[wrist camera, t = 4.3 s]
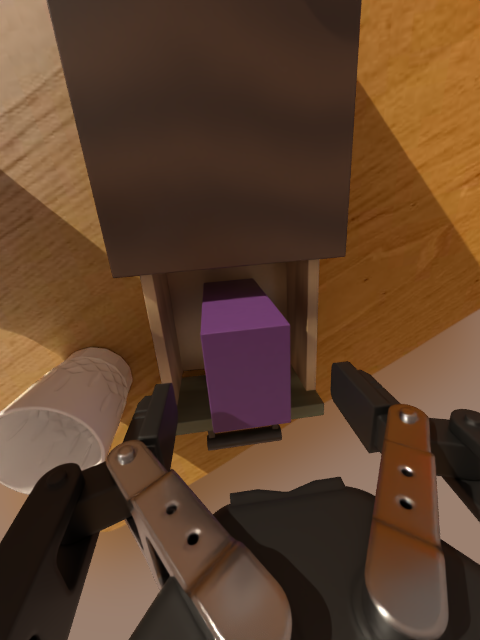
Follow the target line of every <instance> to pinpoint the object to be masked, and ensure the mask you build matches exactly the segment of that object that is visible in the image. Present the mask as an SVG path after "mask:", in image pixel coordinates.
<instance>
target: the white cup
mask: <svg viewBox="0 0 480 640" xmlns="http://www.w3.org/2000/svg"><path fill="white" fill-rule="evenodd" d="M132 381H133V379H132V375H131V370H130V367H129V366H128V364H127V363H126V362H125V361H124V360H123V358H122V357H121V356H119V355H117V354H115V353H114V352H112V351H110V350H108V349H103V348H93V347H89V348H86V349H82V350H79V351H76V352H74V353H73V354H72V355H70V356H69V357H68V358H67V359H66V360H65V361H64V362H62V363H61V364H60V365H58V366H56V367H54V368H53V369H52V370H50V371H49V372H48V373H47V374H45V375H44V376H43V377H42V378H41V379H39V380H38V381H36V382H35V383H34V384H33V385H31V386H30V387H29V388H28V389H27V390H26V391H24V392H23V393H22V394H21V395H20V396H19V397H17V398H16V399H15V400H14V401H13V402H11V403H10V404H9V405H8V406H7V407H5V408H4V409H3V410H2V411H1V412H0V483H1V484H3V485H4V486H6V487H8V488H10V489H13V490H15V491H18V492H21V493H24V494H28V495H29V494H30V493H31V491H32V489H33V488H34V486H35V484H36V483H37V481H38V480H39V479H40V478H41V477H42V476H43V475H44V474H45V473H47V472H48V471H50V470H51V469H53V468H55V467H57V466H59V465H62V464H65V463H76V464H78V465H79V466H80V468H81V471H82V470H85V469H87V468H90V467H93V466H95V465H98V464H100V463H102V462H104V461H106V458H107V455H108V453H109V450H110V447H111V444H112V442H113V439H114V436H115V434H116V431H117V429H118V426H119V423H120V419H121V417H122V414H123V411H124V408H125V405H126V399H127V395H128V393H129V390H130V387H131V384H132Z"/></svg>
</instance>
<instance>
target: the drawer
mask: <svg viewBox="0 0 480 640" xmlns="http://www.w3.org/2000/svg"><path fill="white" fill-rule="evenodd" d="M250 278H253V279H254V280H255V281H256V282H257V284H258V285H259V286H260V287H261V289H262V290H263V291H264V292H265V294H266V295H267V296H268V297H269V299H270V300H271V301H272V302H273V304H274V305H275V306H276V307H277V309H278V310H279V311H280V312H281V314H282V315H283V316H284V318H285V319H286V320H287V321H288V323H289V324H290V356H291V419H298V418H304V417H312V416H319V415H323V414H324V403H323V401H322V399H321V398H320V396H319V395H318V393H317V392H316V390H315V389H316V355H317V321H318V287H319V259H316V260H305V261H294V262H283V263H272V264H261V265H250V266H239V267H228V268H218V269H207V270H196V271H185V272H174V273H163V274H152V275H141V276H140V280H141V284H142V289H143V294H144V299H145V304H146V309H147V314H148V319H149V324H150V329H151V334H152V338H153V343H154V348H155V353H156V358H157V363H158V368H159V373H160V378H161V383H162V384H163V383H172V384H173V388H174V393H175V399H176V404H177V409H178V424H177V430H176V435H183V434H190V433H197V432H204V431H208V435H207V446H208V450H209V451H210V450H217V449H224V448H231V447H238V446H244V445H251V444H258V443H265V442H272V441H279V440H282V435H281V429H280V426H279V425H278V424H276V425H271V426H265V427H258V428H251V429H244V430H237V431H230V432H222V433H214V432H213V425H212V417H211V410H210V402H209V395H208V388H207V380H206V375H201V376H192V377H184V378H182V374H183V371H189V370H198V369H205V365H204V358H203V351H202V343H201V336H200V333H201V317H202V301H203V285H204V283H208V282H219V281H229V280H239V279H250Z"/></svg>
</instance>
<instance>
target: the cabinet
mask: <svg viewBox="0 0 480 640" xmlns="http://www.w3.org/2000/svg"><path fill="white" fill-rule="evenodd" d="M47 5H48V9H49V13H50V17H51V21H52V26H53V30H54V34H55V38H56V42H57V46H58V51H59V55H60V59H61V63H62V67H63V72H64V76H65V80H66V84H67V88H68V92H69V97H70V101H71V105H72V109H73V113H74V117H75V122H76V126H77V130H78V134H79V138H80V143H81V147H82V151H83V155H84V159H85V163H86V168H87V172H88V176H89V180H90V184H91V188H92V193H93V197H94V201H95V205H96V209H97V214H98V218H99V222H100V226H101V230H102V234H103V239H104V243H105V247H106V251H107V255H108V260H109V264H110V268H111V272H112V276H113V278H120V277H130V276H141V275H152V274H163V273H174V272H185V271H196V270H207V269H218V268H228V267H239V266H250V265H261V264H272V263H283V262H294V261H305V260H316V259H326V258H337V257H345V255H346V239H347V223H348V207H349V191H350V176H351V160H352V144H353V128H354V112H355V96H356V80H357V64H358V48H359V32H360V16H361V0H47Z"/></svg>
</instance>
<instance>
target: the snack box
mask: <svg viewBox="0 0 480 640" xmlns="http://www.w3.org/2000/svg"><path fill="white" fill-rule="evenodd" d="M200 336H201V343H202V351H203V358H204V365H205V373H206V380H207V388H208V395H209V402H210V410H211V417H212V425H213V432H214V433H219V432H226V431H233V430H240V429H247V428H255V427H262V426H269V425H276V424H283V423H290V422H291V356H290V324H289V323H288V321H287V320H286V319H285V318H284V316H283V315H282V314H281V312H280V311H279V310H278V309H277V307H276V306H275V305H274V304H273V302H272V301H271V300H270V299H269V297H268V296H267V295H266V294H265V292H264V291H263V290H262V289H261V287H260V286H259V285H258V284H257V282H256V281H255V280H254V279H253V278H250V279H239V280H229V281H219V282H208V283H204V285H203V301H202V317H201V333H200Z"/></svg>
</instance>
